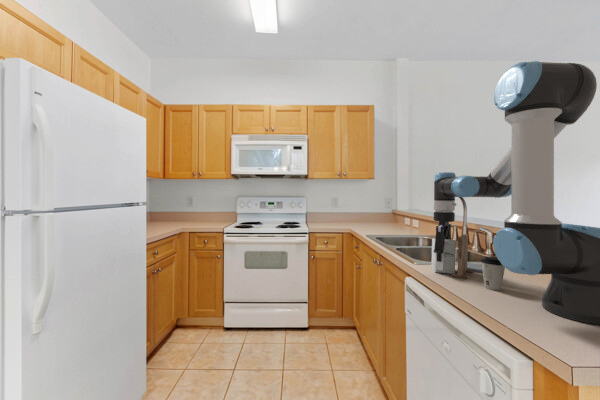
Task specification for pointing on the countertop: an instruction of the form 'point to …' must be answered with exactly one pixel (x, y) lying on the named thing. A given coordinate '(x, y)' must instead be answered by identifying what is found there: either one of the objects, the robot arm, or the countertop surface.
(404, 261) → the countertop surface
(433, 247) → the supplement box
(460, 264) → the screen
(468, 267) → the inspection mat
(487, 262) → the coffee cup
